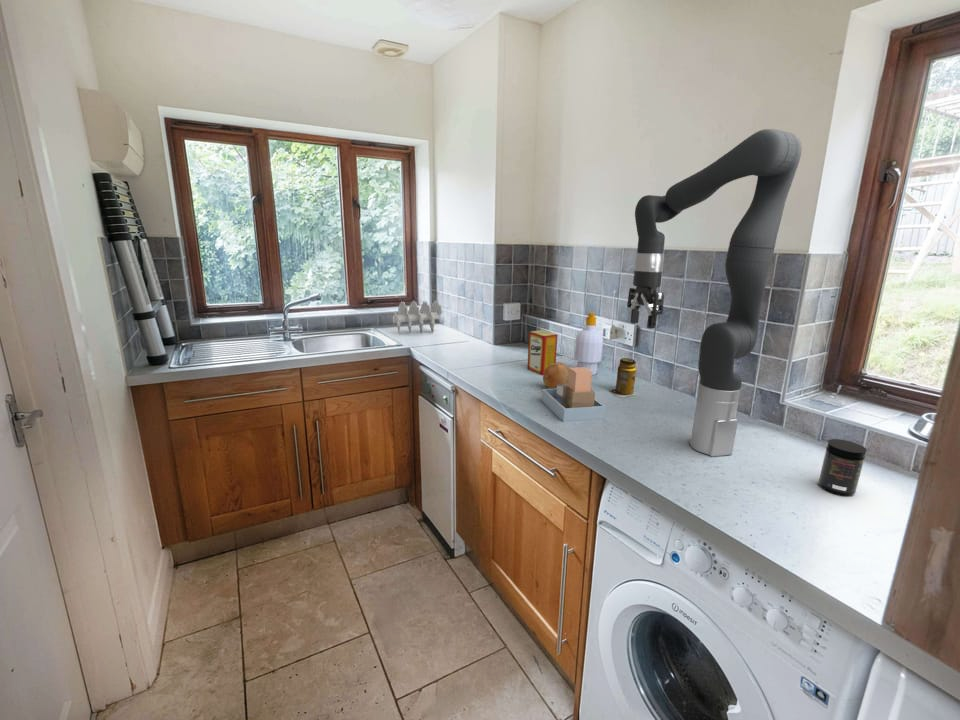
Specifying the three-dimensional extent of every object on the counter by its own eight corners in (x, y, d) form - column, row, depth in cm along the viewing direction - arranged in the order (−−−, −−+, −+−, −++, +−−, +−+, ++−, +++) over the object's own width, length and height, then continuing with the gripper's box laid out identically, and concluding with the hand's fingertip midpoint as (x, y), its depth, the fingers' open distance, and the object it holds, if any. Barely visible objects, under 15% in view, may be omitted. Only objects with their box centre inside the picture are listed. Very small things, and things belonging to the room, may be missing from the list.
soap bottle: (572, 375, 180) (577, 314, 174) (574, 368, 190) (578, 310, 183) (600, 378, 178) (605, 316, 171) (599, 370, 187) (605, 311, 181)
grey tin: (579, 407, 145) (580, 389, 144) (560, 408, 144) (561, 390, 142) (571, 400, 151) (572, 382, 150) (552, 401, 150) (553, 383, 148)
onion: (548, 383, 170) (549, 357, 167) (574, 388, 165) (576, 361, 162) (537, 391, 162) (538, 363, 159) (564, 396, 157) (566, 368, 154)
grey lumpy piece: (393, 339, 252) (437, 334, 260) (398, 331, 236) (445, 327, 244) (388, 307, 254) (432, 303, 263) (392, 297, 238) (439, 293, 246)
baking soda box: (554, 373, 183) (557, 333, 179) (542, 375, 180) (544, 335, 176) (540, 367, 191) (542, 329, 187) (527, 369, 188) (529, 330, 184)
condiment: (638, 394, 161) (642, 360, 158) (622, 398, 157) (626, 364, 153) (622, 388, 167) (625, 356, 164) (605, 392, 162) (609, 359, 159)
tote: (604, 420, 137) (605, 406, 136) (563, 423, 134) (564, 409, 133) (578, 399, 154) (579, 387, 153) (541, 402, 151) (542, 389, 150)
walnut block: (592, 417, 137) (595, 392, 135) (570, 419, 136) (572, 393, 134) (582, 409, 144) (584, 384, 142) (561, 410, 142) (563, 385, 140)
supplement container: (850, 485, 104) (861, 442, 101) (859, 500, 98) (871, 455, 95) (814, 478, 106) (824, 436, 104) (820, 492, 100) (831, 448, 98)
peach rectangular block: (590, 391, 136) (592, 371, 134) (574, 392, 135) (576, 372, 133) (583, 385, 141) (584, 367, 139) (567, 386, 140) (569, 367, 138)
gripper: (675, 271, 126) (668, 329, 130) (645, 268, 139) (639, 321, 144) (651, 271, 124) (645, 330, 128) (623, 268, 138) (618, 321, 142)
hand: (642, 325), depth 136 cm, fingers open, 8 cm apart
